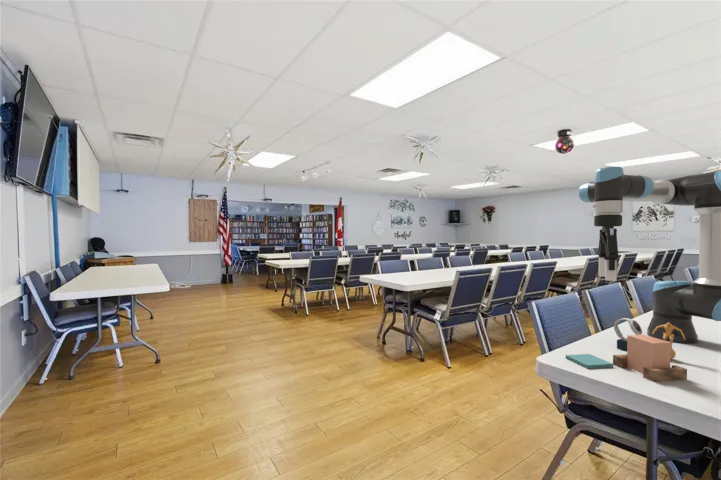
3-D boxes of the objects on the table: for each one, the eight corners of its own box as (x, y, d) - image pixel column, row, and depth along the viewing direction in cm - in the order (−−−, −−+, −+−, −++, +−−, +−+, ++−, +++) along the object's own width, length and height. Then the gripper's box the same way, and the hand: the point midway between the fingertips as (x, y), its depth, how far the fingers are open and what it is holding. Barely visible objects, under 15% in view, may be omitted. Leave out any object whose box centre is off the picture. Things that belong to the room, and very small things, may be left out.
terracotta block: (643, 366, 107) (644, 334, 107) (670, 376, 99) (670, 342, 99) (626, 367, 106) (627, 335, 106) (652, 377, 98) (653, 343, 98)
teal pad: (589, 356, 115) (589, 353, 115) (612, 367, 106) (612, 363, 106) (565, 358, 113) (565, 355, 113) (587, 368, 104) (587, 365, 104)
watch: (637, 353, 118) (638, 322, 118) (611, 347, 125) (611, 317, 125) (644, 350, 121) (644, 320, 121) (617, 344, 128) (618, 315, 128)
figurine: (650, 356, 115) (650, 321, 115) (653, 352, 119) (653, 318, 119) (683, 363, 109) (684, 326, 109) (685, 359, 113) (686, 323, 113)
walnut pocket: (642, 362, 110) (642, 353, 110) (686, 379, 97) (687, 369, 97) (612, 364, 108) (613, 354, 108) (653, 381, 95) (653, 371, 95)
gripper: (589, 216, 125) (588, 274, 125) (600, 212, 103) (599, 281, 103) (614, 216, 121) (613, 275, 122) (631, 211, 99) (630, 283, 100)
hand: (606, 278), depth 112 cm, fingers open, 13 cm apart
